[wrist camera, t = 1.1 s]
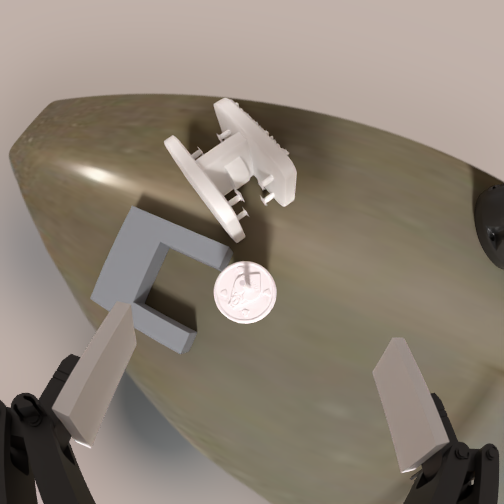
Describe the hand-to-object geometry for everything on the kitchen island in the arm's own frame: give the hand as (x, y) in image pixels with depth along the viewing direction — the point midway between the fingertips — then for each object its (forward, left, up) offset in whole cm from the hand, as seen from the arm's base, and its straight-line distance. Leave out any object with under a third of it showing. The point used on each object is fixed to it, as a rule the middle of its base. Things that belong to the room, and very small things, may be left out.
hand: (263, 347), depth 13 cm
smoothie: (+4, -2, -25) cm, 25 cm away
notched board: (+17, +1, -24) cm, 30 cm away
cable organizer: (+13, -16, -25) cm, 32 cm away
